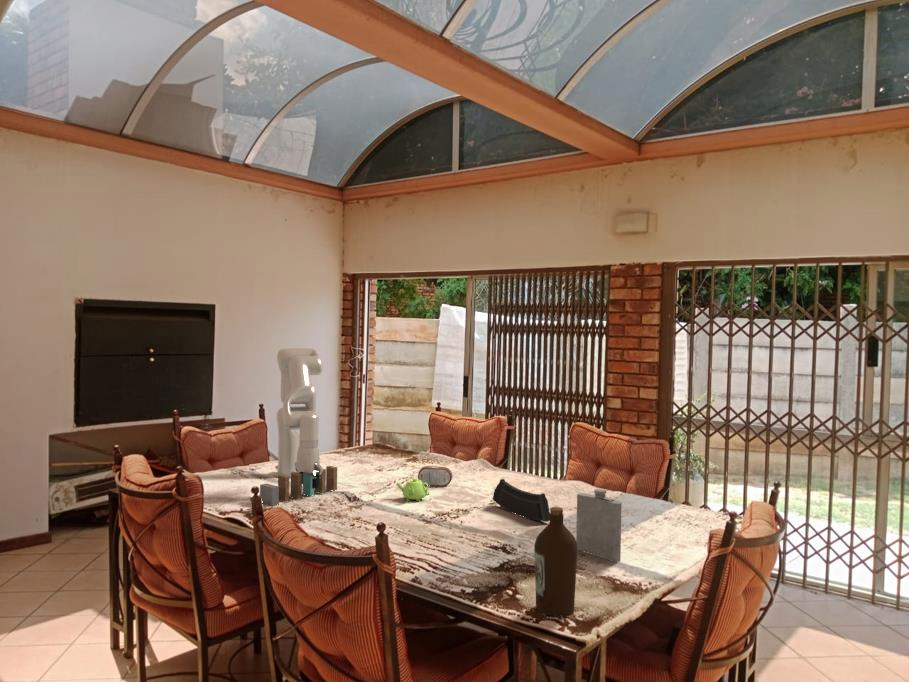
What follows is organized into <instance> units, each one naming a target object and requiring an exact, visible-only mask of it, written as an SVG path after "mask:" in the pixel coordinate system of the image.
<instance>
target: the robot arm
mask: <svg viewBox="0 0 909 682" xmlns="http://www.w3.org/2000/svg"><path fill="white" fill-rule="evenodd" d="M276 362H277V366H278V368H279V371H280V401H281V403H283V404H282V407H281V408H279V409H278V410H277V412H276V422H277V423H276V424H277V430H278V431H277V433H278V435H277V436H278V438H277V440H278V444H277V445H278V448H277V449H278V455H277V458H278V459H277V461H278V462H277V465H275V466H274V468H275V470H277V471H276V472H274V477H276V478H278V475H280V474H283V475H287V476H289V479H291V472H297V473H301V474H302V485H303V473H308V474H310V473H311V474H312V476H313V479H312V488H313V489H314V490H315V488H319V484H320V477H321V475H322V471H323V469H324V468H323V467H322V466H321V465H320V464H321V463H320V462H321V459H320V458H321V457H320V450H319V449H320V448H319V422H320V421H319V420H320V417H319V415H318V414H317V411H316V409H317V408H316V407H317V389H316V387H315V385H313V384H312V382H311V376H320V375H321V374H322V372H323V367H324V366H323V361H322V358H321V356H320V354H319V353H318V351H317V350H316V349H314V348H305V347H304V348H302V347H301V348H298V347H297V348H296V347H293V348H292V347H289V348H281V349H279V350H278V352H277V355H276ZM290 405H304V406H290ZM297 430H298V431H299V433H298V432H297ZM315 473H316V475H315Z"/></svg>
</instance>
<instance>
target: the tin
mask: <svg viewBox="0 0 909 682" xmlns="http://www.w3.org/2000/svg"><path fill="white" fill-rule="evenodd" d="M417 480H421V481H422V483H427V484H428V485H431V486H430V487H447V486H448V485H450V483H451V482H452V480H453V473H452V470H451V469H449V468H448V467H447V466H433V465H425V466H422V467H420V469H419V471H418V473H417ZM425 485H426V484H424V486H425Z"/></svg>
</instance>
